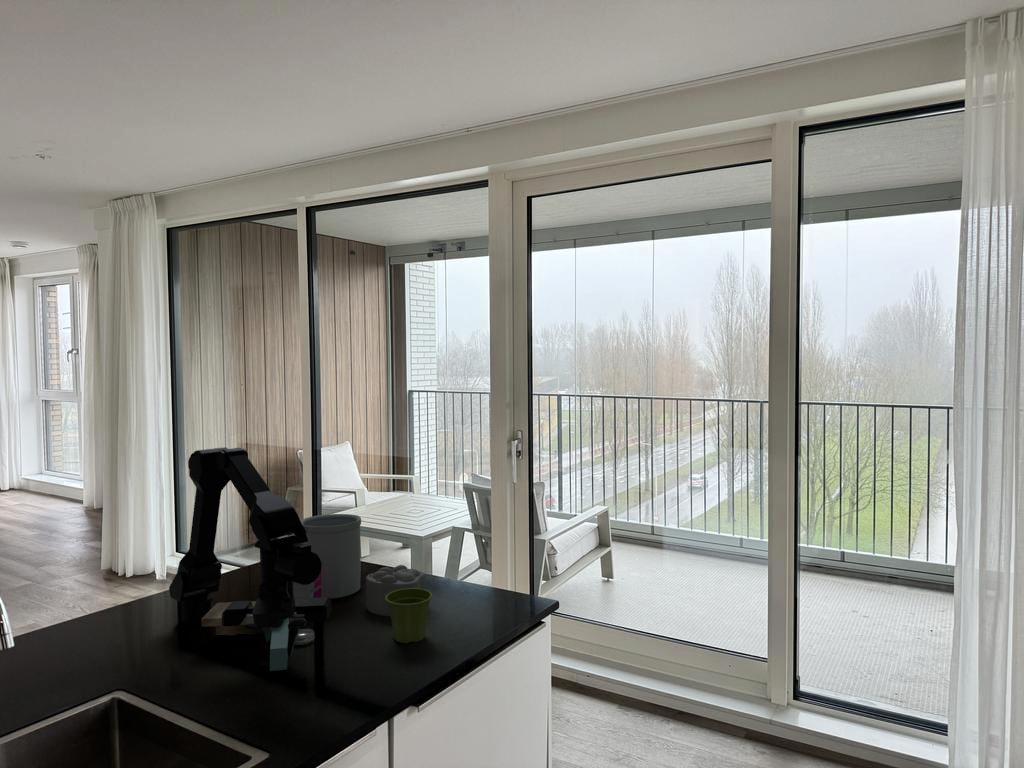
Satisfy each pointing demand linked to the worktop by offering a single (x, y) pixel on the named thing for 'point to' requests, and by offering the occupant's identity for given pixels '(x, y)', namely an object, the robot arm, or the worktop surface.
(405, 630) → the plant pot
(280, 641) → the dark grey-teal rectangular block
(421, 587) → the lumpy-topped squat cylinder
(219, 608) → the oak plinth shelf
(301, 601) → the supplement box
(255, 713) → the worktop surface
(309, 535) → the utensil holder
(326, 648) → the worktop surface
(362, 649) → the worktop surface
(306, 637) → the steel token
